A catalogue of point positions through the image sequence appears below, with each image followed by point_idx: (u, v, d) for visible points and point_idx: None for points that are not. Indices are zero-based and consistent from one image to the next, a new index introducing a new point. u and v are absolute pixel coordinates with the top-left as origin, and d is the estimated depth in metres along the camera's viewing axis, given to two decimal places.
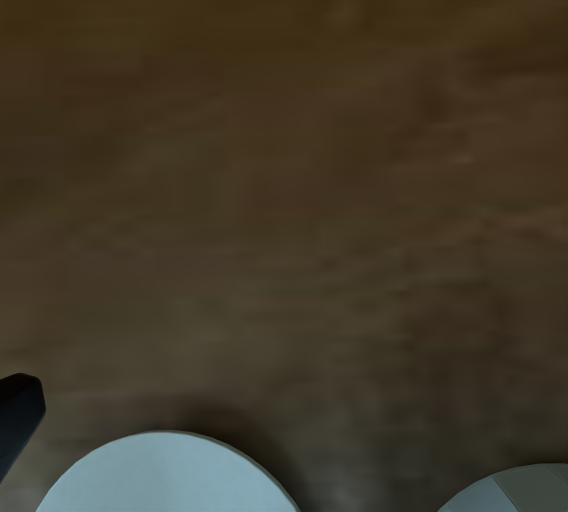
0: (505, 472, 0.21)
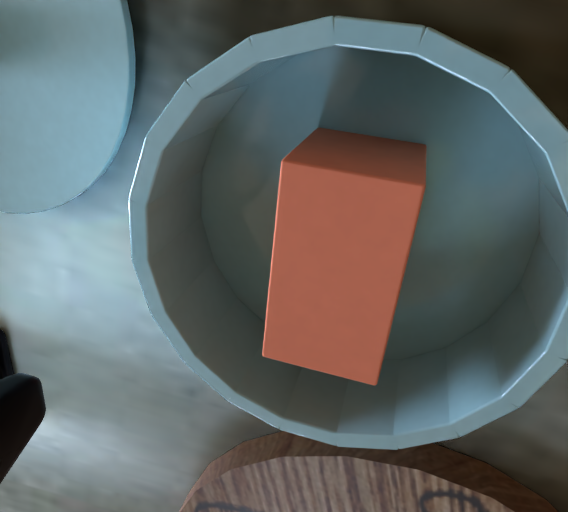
0: None
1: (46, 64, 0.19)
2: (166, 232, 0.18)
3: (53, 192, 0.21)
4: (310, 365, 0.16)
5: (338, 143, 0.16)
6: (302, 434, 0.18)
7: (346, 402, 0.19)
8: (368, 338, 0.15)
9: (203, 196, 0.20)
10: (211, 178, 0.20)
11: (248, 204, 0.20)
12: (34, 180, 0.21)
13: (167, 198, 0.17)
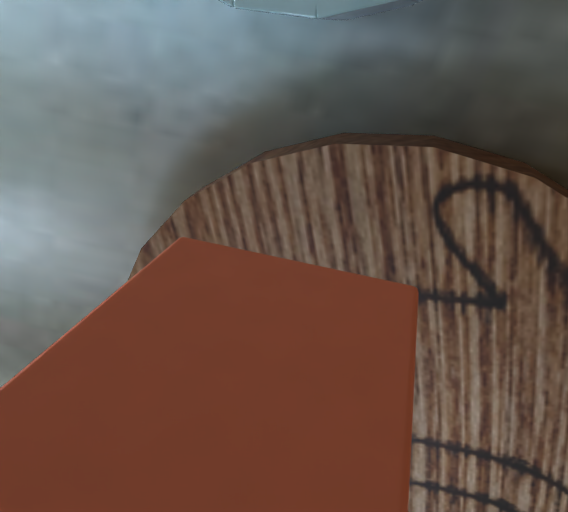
0: None
1: None
2: None
3: None
4: None
5: (188, 313, 0.06)
6: (266, 5, 0.12)
7: None
8: None
9: None
10: None
11: None
12: None
13: None
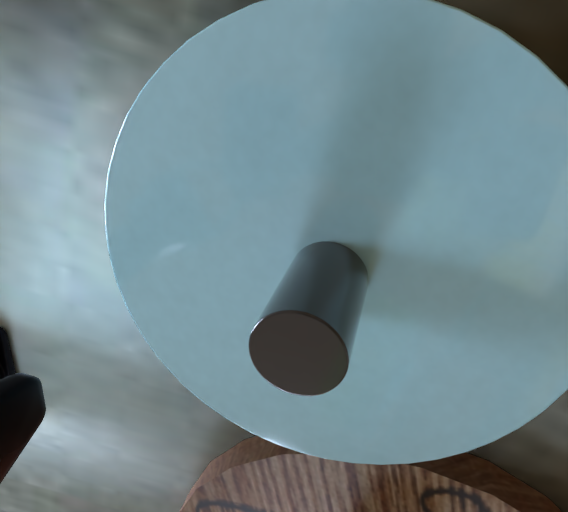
0: None
1: (460, 325, 0.14)
2: None
3: (405, 450, 0.17)
4: None
5: None
6: None
7: None
8: None
9: None
10: None
11: None
12: (381, 435, 0.17)
13: None
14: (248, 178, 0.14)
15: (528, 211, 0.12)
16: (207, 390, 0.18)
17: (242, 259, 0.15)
